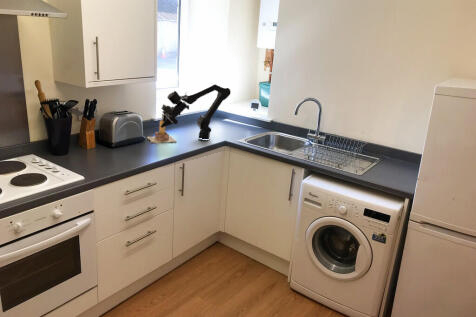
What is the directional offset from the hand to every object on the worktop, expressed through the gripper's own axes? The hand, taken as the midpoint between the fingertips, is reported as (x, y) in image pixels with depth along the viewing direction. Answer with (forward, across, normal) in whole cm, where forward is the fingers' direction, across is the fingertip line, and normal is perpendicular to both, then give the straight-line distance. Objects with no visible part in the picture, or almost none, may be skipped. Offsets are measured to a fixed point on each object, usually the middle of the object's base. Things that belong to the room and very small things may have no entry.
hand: (160, 126), depth 255 cm
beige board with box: (+6, 0, +7) cm, 9 cm away
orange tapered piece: (+4, 0, +6) cm, 7 cm away
